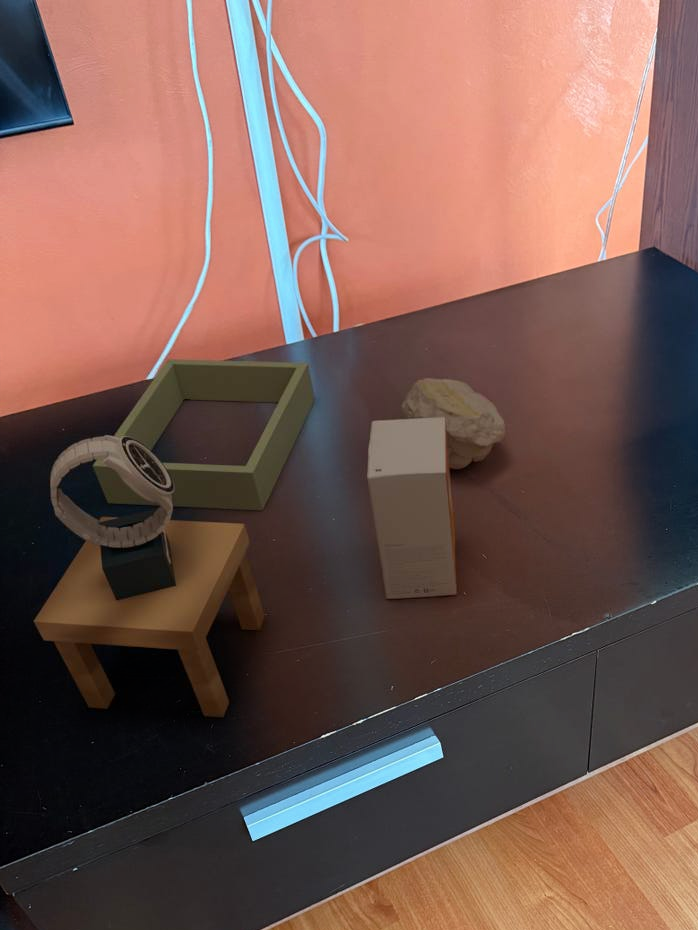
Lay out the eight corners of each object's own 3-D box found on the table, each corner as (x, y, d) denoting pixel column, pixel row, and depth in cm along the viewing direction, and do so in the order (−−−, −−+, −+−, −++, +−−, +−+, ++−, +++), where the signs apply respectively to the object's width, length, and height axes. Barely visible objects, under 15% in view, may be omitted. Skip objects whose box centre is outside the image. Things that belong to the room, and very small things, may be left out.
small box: (458, 596, 82) (447, 472, 73) (385, 600, 82) (364, 477, 73) (456, 536, 88) (446, 414, 78) (388, 540, 88) (369, 419, 79)
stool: (81, 711, 75) (32, 621, 68) (139, 606, 83) (101, 516, 76) (226, 722, 74) (192, 631, 66) (270, 614, 82) (244, 523, 75)
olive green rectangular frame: (107, 503, 94) (92, 465, 91) (179, 394, 108) (167, 358, 105) (262, 510, 92) (252, 472, 89) (315, 399, 106) (308, 362, 103)
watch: (202, 579, 70) (159, 454, 62) (91, 606, 69) (33, 482, 61) (194, 534, 74) (152, 411, 66) (88, 559, 72) (32, 436, 65)
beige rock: (442, 412, 103) (382, 464, 98) (426, 343, 97) (362, 395, 92) (533, 439, 97) (474, 496, 92) (522, 367, 91) (459, 424, 86)
